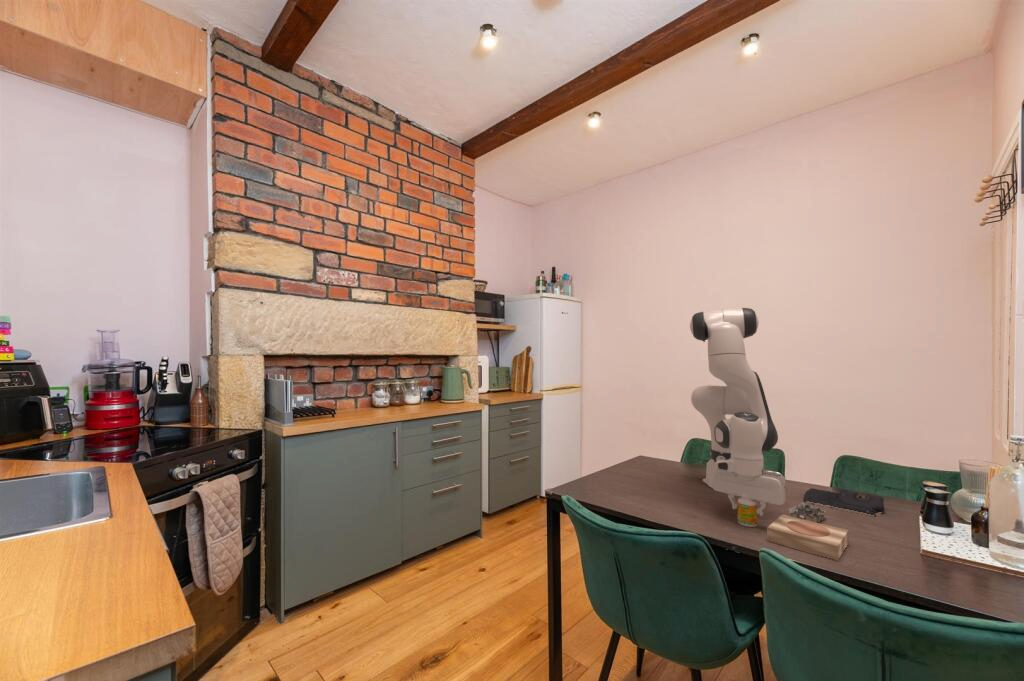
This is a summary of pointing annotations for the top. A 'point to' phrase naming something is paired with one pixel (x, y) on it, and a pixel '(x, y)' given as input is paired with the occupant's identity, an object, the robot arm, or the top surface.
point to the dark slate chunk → (846, 500)
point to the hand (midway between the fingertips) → (747, 511)
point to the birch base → (808, 536)
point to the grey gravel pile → (807, 512)
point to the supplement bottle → (747, 511)
